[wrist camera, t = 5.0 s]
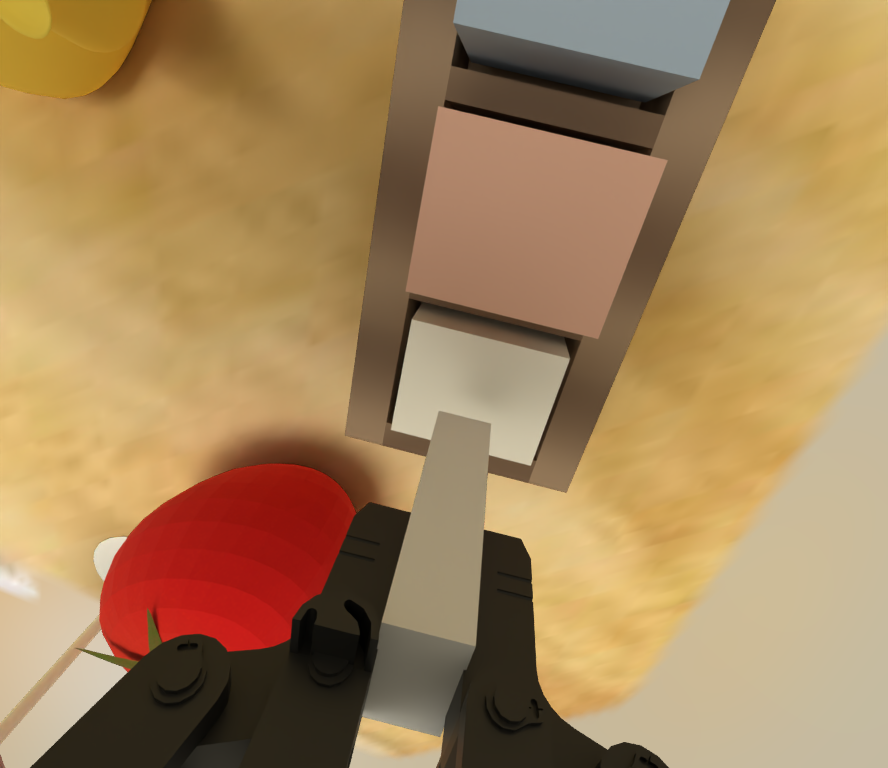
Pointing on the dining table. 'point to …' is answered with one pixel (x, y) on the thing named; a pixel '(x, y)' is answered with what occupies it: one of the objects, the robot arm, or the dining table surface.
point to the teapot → (66, 43)
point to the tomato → (225, 561)
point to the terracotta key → (528, 221)
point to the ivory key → (480, 378)
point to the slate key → (594, 41)
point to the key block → (556, 111)
